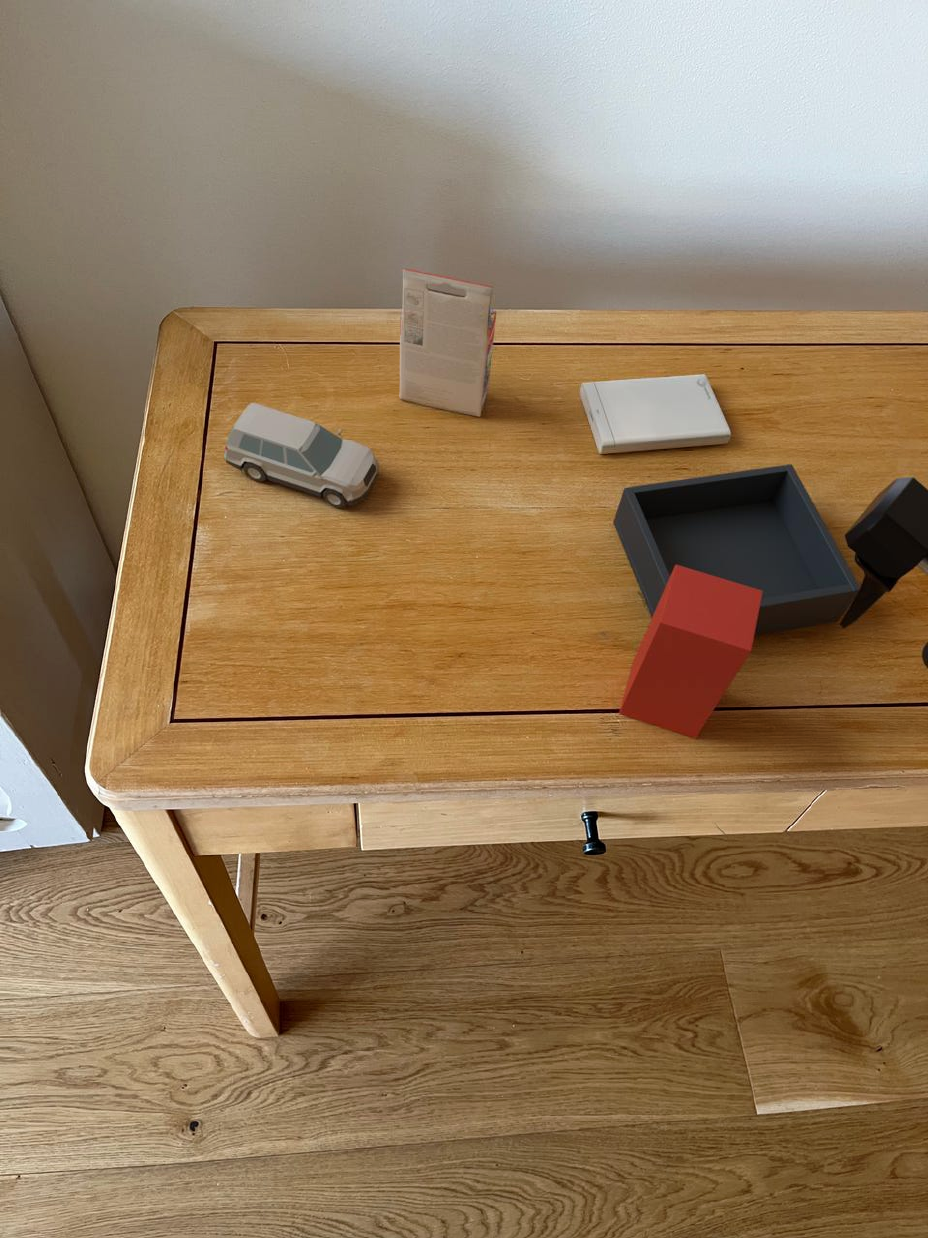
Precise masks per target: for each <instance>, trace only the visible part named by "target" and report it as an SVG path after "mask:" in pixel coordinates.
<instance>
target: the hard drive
mask: <svg viewBox="0 0 928 1238" xmlns="http://www.w3.org/2000/svg"><path fill="white" fill-rule="evenodd" d="M579 397H580V400H581V402H582V406H583V409H584V413H585V415H586V417H587V421H588V423H589V428H590V429H591V433H592V436H593V440H594V442H595V446H596V449H597V452H598V453H599V454H600V455H605V454H618V453H631V452H643V451H654V450H666V449H667V450H668V449H678V448H688V447H689V448H690V447H701V446H713V445H714V446H715V445H723V444H724V445H725V444H728V443H729V441H730V440H731V437H732V436H731V435H732V432H731V429H730V427H729V424H728V423H727V420H726V417H725V415H724V413H723V411H722V408H721V406H720V404H719V402H718V399H717V397H716V395H715V393H714V391H713V389H712V386H711V384H710V381H709V379H708V377H707V375H706V374H705V373H703V374H689V375H673V376H661V377H660V376H659V377H658V376H657V377H645V378H644V377H643V378H631V379H619V380H617V379H616V380H605V381H604V380H603V381H591V382H582V383H581V385H580V389H579Z"/></svg>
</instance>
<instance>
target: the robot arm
mask: <svg viewBox="0 0 928 1238" xmlns="http://www.w3.org/2000/svg"><path fill="white" fill-rule="evenodd" d="M844 538H845V542H846V545H847V548H849V549H850V550H851V551H852V552H854V558H853V559H854V562H855V564H856V565H857V566H858V567H859V568H860V569H861V570H862V571H863V574H864V576H863V579H862V581H861V585H860V590H859V592H858V594H857V595H856V597H855V599H854V600H853V602H852V603H851V604H850V606H849V607H848V608H847V610H846V611H845V613H844V616H843V617H842V619H841V621H840V623H839V626H840V627H841V628H842V629H846V628H847V627H849V626H850V625H852V624H854V623H856V622H857V621H858V620H859V619H860V618H861V617H862V616H863V615H864V614H865V613H866V612H867V611H868V610H869V609H870V608H872V607H873V605H875V603H877V601H879V599H881V598H882V597H883V596H884V595H885V594H886V593H890V592H892V590H893V589H894V588H895V586H896V584H897V583H898V582H899V580H900V579H901V578H903V577H904V576H905V575H907V574H909V572H911V571H912V570H914V568H916V567H917V568H918V569H920V570H921V572H923V573H924V574H925V575H927V576H928V488H927V487H926V486H924V484H922V483H921V482H920V481H919V480H917V478H915V477H914V476H911V477H910V476H909V477H900V478H899V477H897V478H896V479H894V480H892V482H891V483H890V484H888V485H886V487H885V488H884V489H882V490H881V491H880V492H879V493H878V494H877V495H876V496H875V497H874V498H873V500H872V501H871V502H870V503H869V505H868V506H866V508H865V509H864V511H863V512H862V513H861V514H860V516H859V517H858V518H857V519H856V520H855V522H854V523H853V524H852V525H851V527H850V528H849V529H848V530H847V531H846V533H845V534H844ZM921 658H922V662H923V664H924V666H925V667H926V669H928V641H927V642H926V643H925V644H924V646H923V648H922V650H921Z"/></svg>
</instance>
